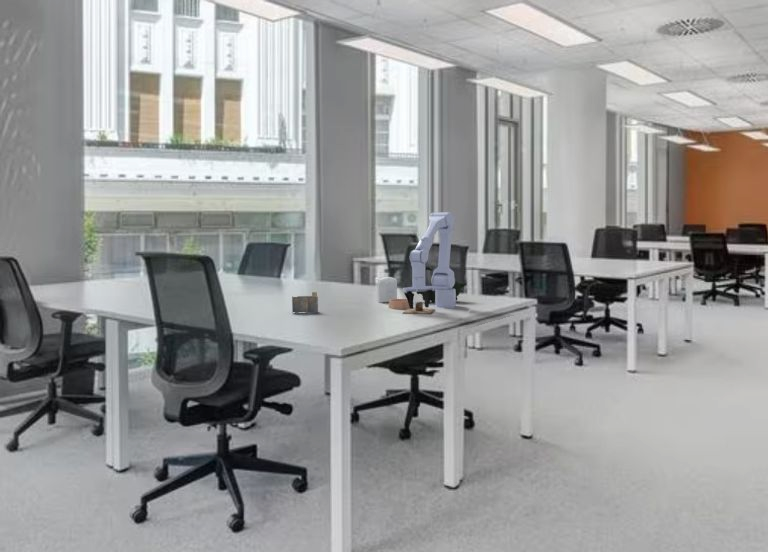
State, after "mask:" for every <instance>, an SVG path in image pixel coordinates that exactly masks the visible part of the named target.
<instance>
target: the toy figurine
mask: <svg viewBox="0 0 768 552" xmlns="http://www.w3.org/2000/svg"><path fill="white" fill-rule="evenodd" d="M432 269H433V268H431V267H429V266H428V265H427V266H426V265H425V272H426V271H430V272H433V270H432ZM465 286H467V283H466V282H458V281H457V280H456V279H455V284H454V286H453V287H452V288H451V289H455V290H456V302H457V301H458V297H459V295H460V294H461V291H462V289H463V288H464V287H465ZM433 292H434V293H433V295H432V297H431V300H430V302H431V303H435V291H433ZM415 293H416V294H417V295H421V297H422V300H423V301H424V302H425V297H424V291H419V292H415Z"/></svg>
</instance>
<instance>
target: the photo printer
mask: <svg viewBox="0 0 768 552" xmlns="http://www.w3.org/2000/svg"><path fill="white" fill-rule="evenodd" d="M391 299H398V280H397V278H395V277H393V276H385V277H382V278H379V279H378V281H377V302H378V303H380V304H381V303H383V304H384V303H389V300H391Z"/></svg>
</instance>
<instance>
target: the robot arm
mask: <svg viewBox="0 0 768 552" xmlns="http://www.w3.org/2000/svg"><path fill="white" fill-rule="evenodd" d="M429 215H430V216H429V218H428V222H429V226H428V227H427V230H426V232H425V234H424V235H423V236H421V237H420V239H419V242H418V243H417V245H416V247H415V249H413V250H411V251H410V253H409V257H408V258H409V261H410V266H411V269H412V270H411V271H412V275H411V279H412V284H411V285H412V286H408V287H403V288H402V291H403V293H404V294H403V295H404V296H405V299H407V300H408V303H409V308H410V309H413V308H414V296H415V293H416V292H419V291H424V297H425V301H424V308H426V309H429V307H430V303H431V301H430V300H431V297H432V295H433V293H434V292H433V291H435V302H434V303H435V305H434V306H433V308H438V309H439V308H440V309H441V308H443V309H444V308H446V309H447V308H449V309H454V308H455V307H456V306H457V301H456V290H455V289H451V288H452V287H453V286H454V284H455V280H456V278H455V272H454V271H453V270H452V269H451V268H450V261H451V260H450V259H451V246H452V235H453V234H452V232H453V231H454V226H455V217H454V216H455V215H453V213H452V212H451V211H448V212H447V211H443V212H435V211H434V212H431V213H430V214H429ZM438 232H439V235H440V236H439V247H438V261H437V267H436V268H435V269H434V270H432V276H431V280H430V283H431V285H426V271H425V266H426V263H427V261H428V258H429V251H430V249H431V248H432V245H433V244H434V243H433V238H434V237H435V235H436V234H437V233H438Z"/></svg>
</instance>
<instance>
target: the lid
mask: <svg viewBox="0 0 768 552" xmlns="http://www.w3.org/2000/svg"><path fill="white" fill-rule="evenodd" d="M423 305H424V302H423V301H415V307H413V309H410V308H408V309H404V311H402V313H403V314H402V315H432V314H433V313H432V312H433V311H434V310H436V309H435V308H423V307H424V306H423ZM431 313H432V314H431Z"/></svg>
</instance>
